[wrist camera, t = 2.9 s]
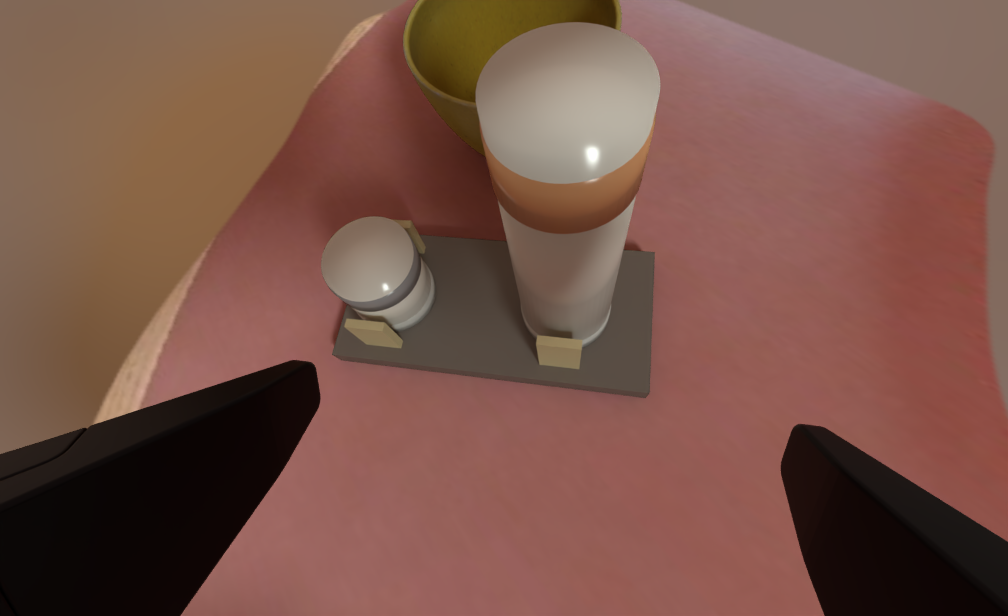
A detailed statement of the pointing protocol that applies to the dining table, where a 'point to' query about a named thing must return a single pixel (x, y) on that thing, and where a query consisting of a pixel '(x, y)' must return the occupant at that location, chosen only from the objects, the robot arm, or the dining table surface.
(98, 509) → the robot arm
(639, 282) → the fuse block
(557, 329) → the fuse marked
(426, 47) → the yellow bowl
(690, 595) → the dining table surface
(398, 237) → the cylinder
